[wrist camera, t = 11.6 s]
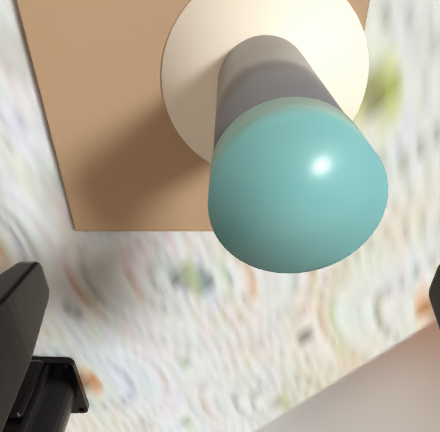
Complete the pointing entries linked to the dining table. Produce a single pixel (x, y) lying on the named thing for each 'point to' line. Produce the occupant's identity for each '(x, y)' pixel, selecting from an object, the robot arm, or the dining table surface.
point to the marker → (288, 164)
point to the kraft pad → (165, 93)
